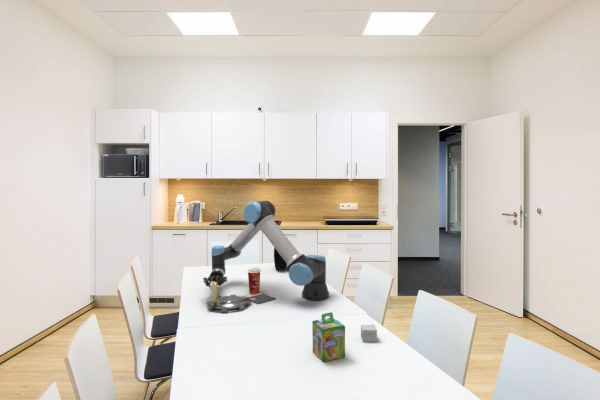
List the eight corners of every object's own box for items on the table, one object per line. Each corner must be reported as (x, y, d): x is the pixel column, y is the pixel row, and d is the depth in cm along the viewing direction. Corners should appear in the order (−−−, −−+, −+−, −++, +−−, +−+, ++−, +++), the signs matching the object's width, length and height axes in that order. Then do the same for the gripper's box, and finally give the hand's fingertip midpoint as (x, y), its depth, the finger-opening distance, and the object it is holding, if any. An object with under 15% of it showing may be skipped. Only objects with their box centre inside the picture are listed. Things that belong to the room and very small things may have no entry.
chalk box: (323, 362, 121) (322, 320, 120) (311, 351, 129) (311, 311, 129) (346, 357, 125) (346, 316, 124) (333, 346, 133) (333, 308, 132)
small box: (360, 336, 142) (360, 324, 142) (374, 336, 142) (374, 324, 142) (362, 342, 137) (362, 330, 136) (377, 342, 136) (377, 330, 136)
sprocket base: (258, 305, 180) (258, 304, 180) (220, 316, 166) (220, 315, 166) (236, 296, 197) (236, 295, 197) (199, 305, 182) (199, 304, 182)
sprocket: (244, 294, 196) (243, 271, 196) (256, 307, 176) (256, 280, 175) (203, 300, 187) (202, 276, 186) (211, 314, 166) (210, 286, 166)
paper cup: (255, 295, 197) (255, 271, 197) (245, 293, 201) (244, 269, 201) (263, 292, 204) (263, 268, 203) (253, 290, 208) (253, 266, 208)
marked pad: (276, 299, 190) (276, 297, 190) (258, 304, 183) (258, 302, 182) (263, 294, 199) (263, 293, 199) (245, 299, 191) (245, 297, 191)
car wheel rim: (292, 272, 251) (292, 244, 250) (279, 273, 248) (278, 245, 248) (286, 266, 270) (286, 240, 269) (274, 267, 268) (273, 241, 267)
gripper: (228, 282, 200) (224, 294, 177) (205, 283, 199) (198, 295, 175) (228, 269, 200) (224, 279, 177) (204, 270, 198) (198, 280, 175)
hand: (211, 287), depth 176 cm, fingers closed
